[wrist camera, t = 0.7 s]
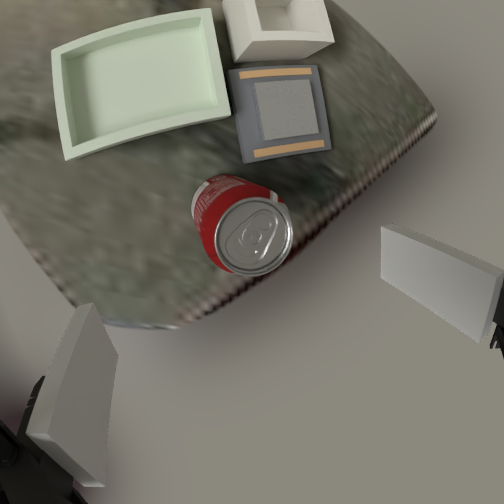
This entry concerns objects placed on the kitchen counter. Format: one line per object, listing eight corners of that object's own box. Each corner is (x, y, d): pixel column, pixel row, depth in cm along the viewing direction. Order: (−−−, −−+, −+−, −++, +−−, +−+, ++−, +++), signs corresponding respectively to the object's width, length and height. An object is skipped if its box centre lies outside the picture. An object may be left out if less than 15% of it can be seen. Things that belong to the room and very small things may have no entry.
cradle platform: (251, 85, 25) (254, 82, 24) (304, 81, 26) (309, 79, 25) (261, 140, 28) (265, 140, 27) (314, 133, 29) (318, 133, 28)
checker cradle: (225, 73, 25) (228, 69, 24) (312, 67, 27) (317, 64, 26) (243, 163, 29) (246, 163, 28) (326, 148, 31) (332, 149, 30)
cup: (221, 4, 22) (236, -27, 16) (288, 3, 24) (316, -22, 17) (233, 63, 25) (252, 41, 19) (302, 59, 27) (334, 42, 20)
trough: (60, 58, 19) (51, 50, 17) (206, 19, 22) (210, 7, 20) (74, 159, 24) (65, 160, 21) (225, 118, 27) (231, 114, 24)
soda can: (177, 214, 29) (184, 253, 18) (216, 161, 28) (247, 166, 17) (228, 248, 32) (262, 300, 21) (265, 198, 31) (319, 226, 20)
